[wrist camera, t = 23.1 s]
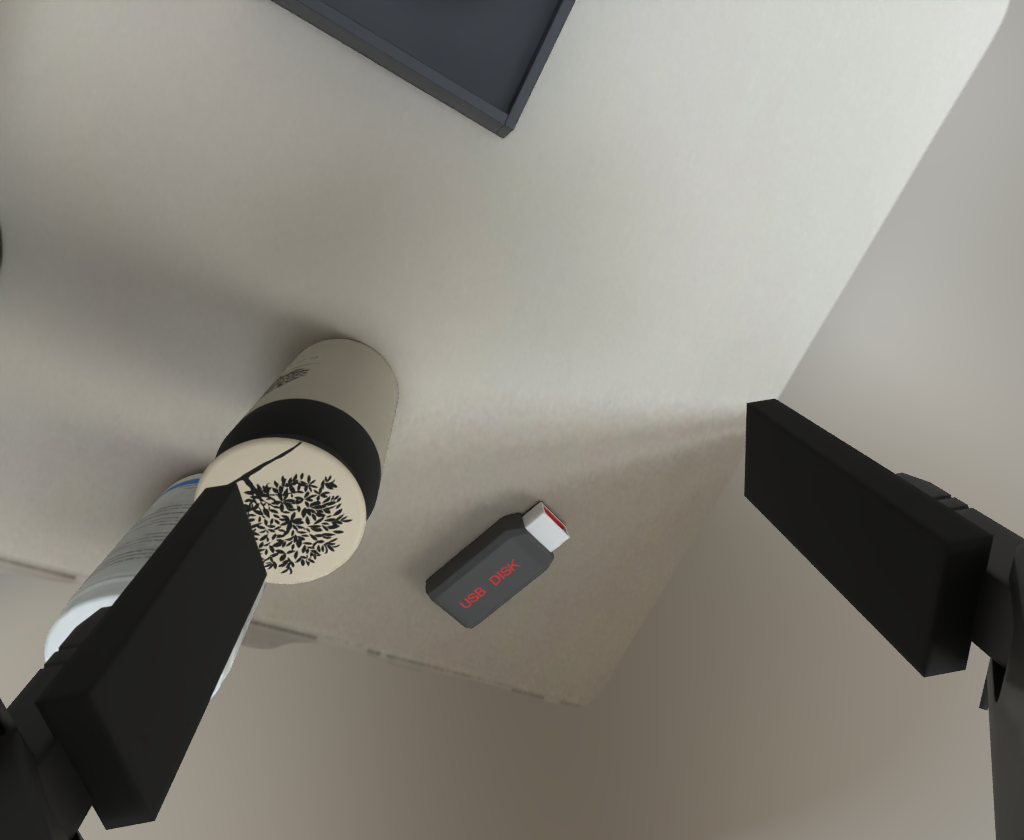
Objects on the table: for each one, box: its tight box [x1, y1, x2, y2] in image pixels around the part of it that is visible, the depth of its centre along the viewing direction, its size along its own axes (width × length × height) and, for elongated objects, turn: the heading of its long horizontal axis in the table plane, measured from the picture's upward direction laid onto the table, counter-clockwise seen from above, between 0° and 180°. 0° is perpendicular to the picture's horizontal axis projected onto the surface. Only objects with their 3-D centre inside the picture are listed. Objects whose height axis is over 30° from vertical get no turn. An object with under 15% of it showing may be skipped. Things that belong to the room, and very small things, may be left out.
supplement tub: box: [44, 473, 267, 700], centre depth 39 cm, size 10×10×15 cm
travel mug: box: [194, 339, 398, 584], centre depth 35 cm, size 8×8×18 cm
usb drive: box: [426, 502, 570, 628], centre depth 49 cm, size 5×12×3 cm, turn 131°
